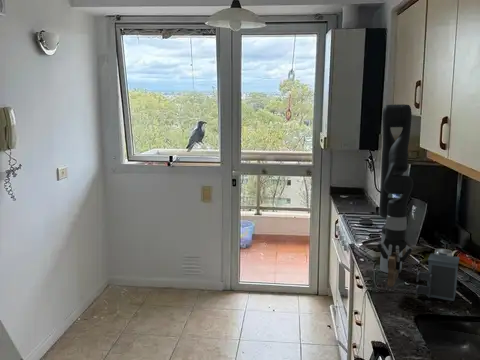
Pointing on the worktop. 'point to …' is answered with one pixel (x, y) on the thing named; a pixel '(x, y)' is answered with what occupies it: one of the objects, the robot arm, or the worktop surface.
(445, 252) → the beer glass
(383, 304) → the worktop surface
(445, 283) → the slate cabinet
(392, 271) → the walnut door
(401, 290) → the worktop surface
